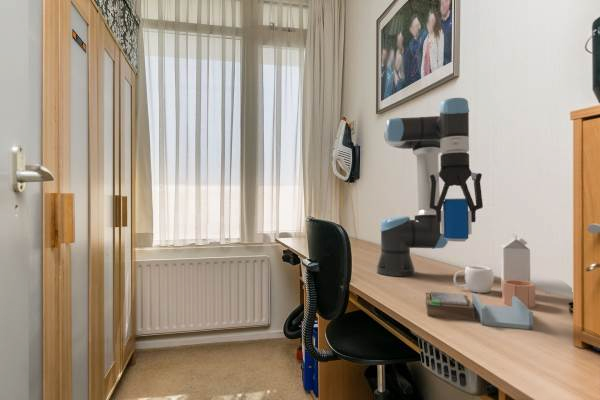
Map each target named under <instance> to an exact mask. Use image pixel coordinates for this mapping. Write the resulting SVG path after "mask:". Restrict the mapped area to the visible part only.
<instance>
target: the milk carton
mask: <svg viewBox="0 0 600 400" xmlns="http://www.w3.org/2000/svg"><path fill="white" fill-rule="evenodd" d="M517 238H518V236H517V235H516V234H515V233H512V237H511V238H510V239H508V240H507V241H506V242H503V244H501V245H500V257H501V258H500V272H501V273H500V274H501V275H500V276H501V277H500V279H501V280H500V281H501V283H500V284H501V291H502V281H504V280H520V281H526V282H531V249H530V248H529V247H528V246H526V245H527V244H528V241H526V240H525V239H523V238H520V239H519V240H518V239H517Z"/></svg>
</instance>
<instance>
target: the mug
mask: <svg viewBox="0 0 600 400" xmlns="http://www.w3.org/2000/svg"><path fill="white" fill-rule="evenodd" d="M459 274H464V281H465V284H463V285H461V284H458V283H457V276H458V275H459ZM494 279H495V278H494V271H493V268H491V267H488V266H484V265H469V266H468V265H467V266H466V267H465V270H458V271H457V272H455V274H454V275H453V284H454V285H455V286H456V287H457V288H460V289H462V288H466V287H467V289H468V291H470V292H472V293H477V294H478V293H479V294H488V293H489V292H491V290H492V289H493V286H494V285H493V284H494Z"/></svg>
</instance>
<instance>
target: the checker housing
mask: <svg viewBox="0 0 600 400" xmlns="http://www.w3.org/2000/svg"><path fill="white" fill-rule="evenodd" d="M463 295H464V294H463ZM464 297H465V299H466V301H467V306H462V305H449V304H440V301H439V300H432V299H431V292H425V307H426V315H427V317H437V318H447V319H456V318H457V319H460V320H469V321H474V320H475V312H474V307H473V305H472V301H471V299H469V297H468V295H466V294H465V295H464ZM457 319H456V320H457Z"/></svg>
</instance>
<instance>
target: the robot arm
mask: <svg viewBox="0 0 600 400" xmlns="http://www.w3.org/2000/svg"><path fill="white" fill-rule="evenodd" d="M438 112H439V115H434V116H420V117H419V116H417V117H414V116H413V117H396V118H395V117H393V118H389V119H387V121H386V127H385V130H384V136H383V137H384V140H385V142H386V144H387V145H389V146H391V147H393V148H396V149H397V148H398V149H403V150H405V149H406V150H407V149H408V150H411V149H412V154H413V155H414V156H416V157H415V158H416V176H417V177H416V179H417V182H416V183H417V212H416V213H415V215H414V219H411V218H410V216H409V215H407V216H396V217H395V216H394V217H389V218H384V219H383V220H382V221H381V224H380V257H379V260H378V263H377V266H376V273H377V274H381V275H384V276H389V277H390V276H391V277H410V276H413V275H414V274H415V267H414V263H413V260H412V257H411V249H433V250H435V249H444V248H445V247H446V246H447V245H448V242H449V241H447V240H446V239H445V238H444V211H443V210H442V209H443V208H442V207H443V203H444V201H445V199H446V196H447V194H448V190H449V188H450V187H453V186H456V187H458V186H459V187H460V188H461V191H462V194H463V196H464V198H465V199H466V201H467V202H468V235H472V234H473V233H472V230H473V229H472V223H476V218H477V217H476V211H477V210H480V209H482V208H483V207H484V205H483V196H482V186H481V179H482V177H483V174H482V173H480V172H478V173H477V172H472V170H471V169H470V154H469V151H470V143H469V142H470V141H469V139H470V138H469V137H470V133H469V131H470V129H469V127H470V124H469V123H470V122H469V121H470V120H469V119H470V118H469V114H470V109H469V102H468V100H467V99H466V98H465V97H451V98H446V99H444V100H442V101H440V104H439V111H438ZM440 154H441V155H440ZM439 155H440V169H439ZM470 177H471V180H472V181H473V187H474V188H473V189H474V198H475V203H474V199H473V198H472V195H471V192H470V190H469V187H468V185H467V181H468V180H469V178H470ZM440 179H441V181H442V182H443V187H442V190H441V193H440Z"/></svg>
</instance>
